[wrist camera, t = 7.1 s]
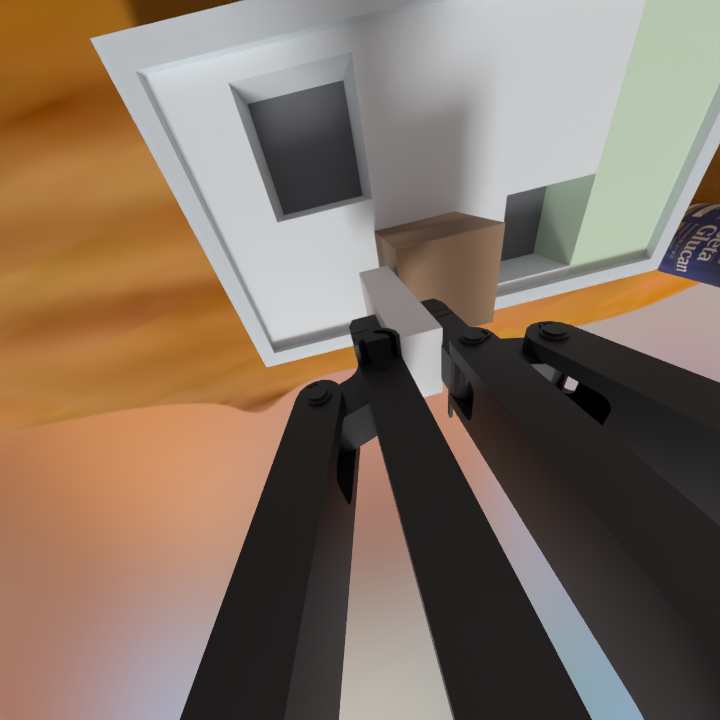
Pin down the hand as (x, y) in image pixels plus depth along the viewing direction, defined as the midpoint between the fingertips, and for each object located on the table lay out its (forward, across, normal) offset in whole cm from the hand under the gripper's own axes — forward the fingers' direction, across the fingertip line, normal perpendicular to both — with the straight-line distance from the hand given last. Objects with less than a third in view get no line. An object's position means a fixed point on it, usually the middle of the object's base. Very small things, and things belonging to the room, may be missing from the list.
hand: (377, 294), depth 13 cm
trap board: (+8, +6, +3) cm, 11 cm away
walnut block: (+4, +4, 0) cm, 5 cm away
